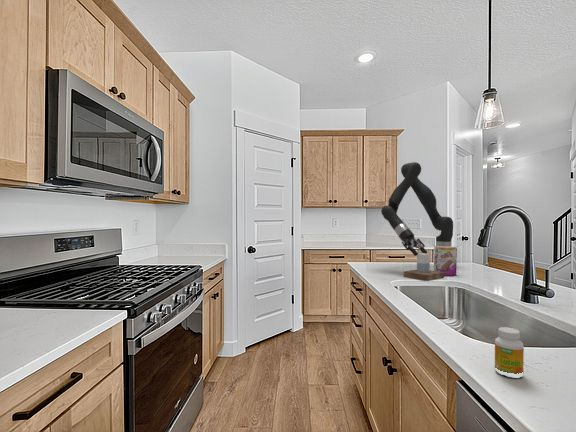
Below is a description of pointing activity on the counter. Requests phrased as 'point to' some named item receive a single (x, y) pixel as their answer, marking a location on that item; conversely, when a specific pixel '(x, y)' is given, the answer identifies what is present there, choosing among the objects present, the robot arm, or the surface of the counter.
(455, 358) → the counter surface
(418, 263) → the housing block
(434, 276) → the walnut stand
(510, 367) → the supplement bottle
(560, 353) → the counter surface
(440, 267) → the candy bar box
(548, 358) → the counter surface
